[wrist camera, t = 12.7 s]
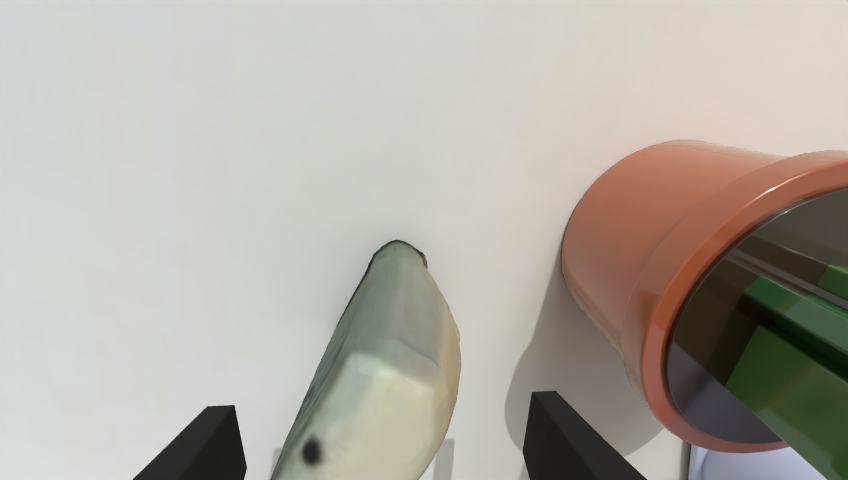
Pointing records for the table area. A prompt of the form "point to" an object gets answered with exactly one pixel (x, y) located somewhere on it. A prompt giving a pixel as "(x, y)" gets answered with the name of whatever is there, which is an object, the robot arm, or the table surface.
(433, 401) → the pale green rounded block
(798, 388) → the plant
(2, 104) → the table surface
